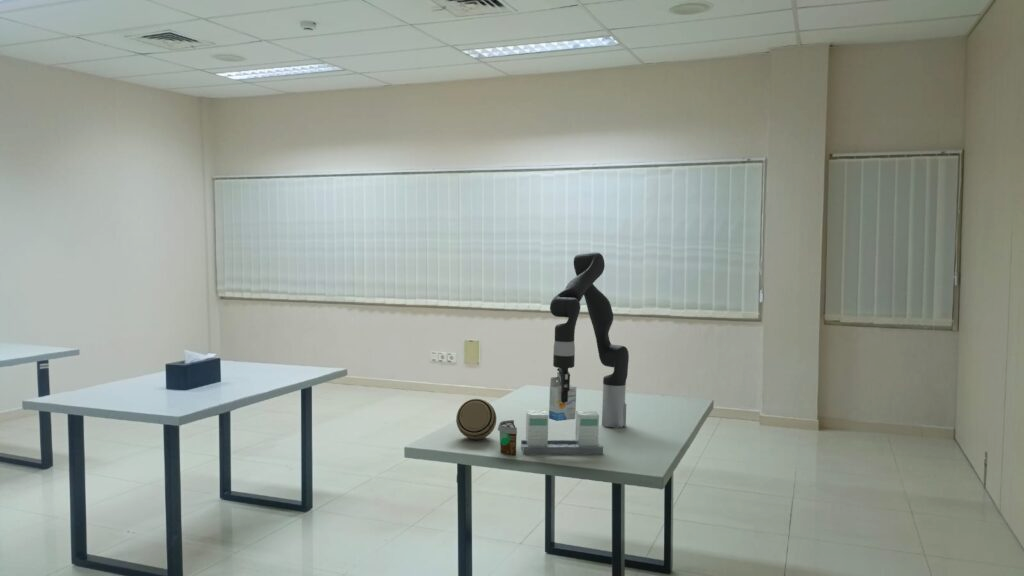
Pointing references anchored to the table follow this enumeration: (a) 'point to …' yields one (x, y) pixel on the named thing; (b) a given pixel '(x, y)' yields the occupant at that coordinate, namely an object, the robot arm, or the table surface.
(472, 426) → the mechanical component
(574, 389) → the ink box
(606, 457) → the table surface
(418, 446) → the table surface
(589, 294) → the robot arm
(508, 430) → the food container
